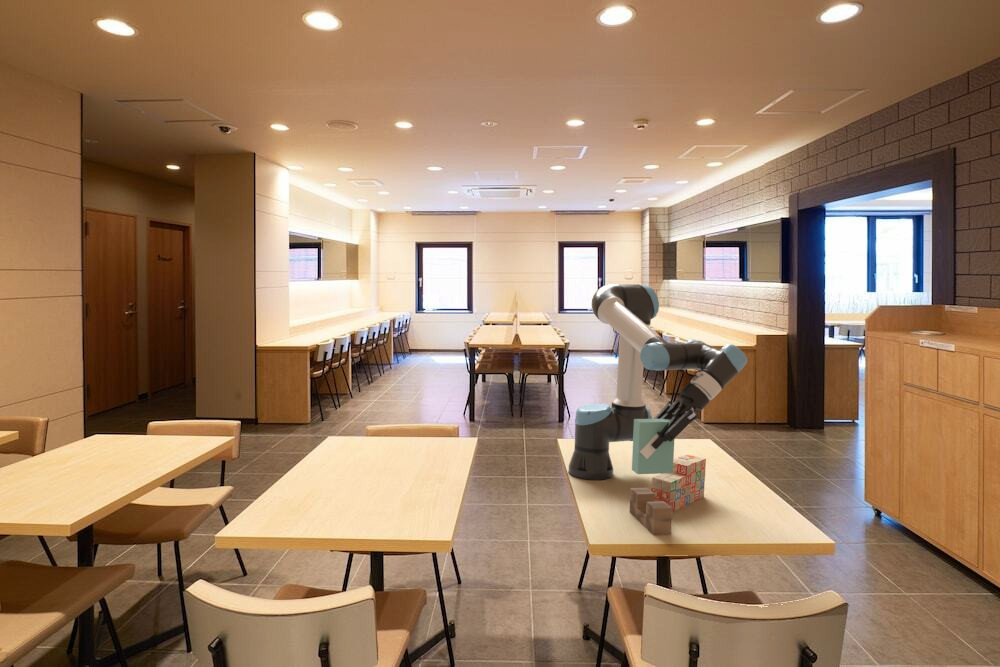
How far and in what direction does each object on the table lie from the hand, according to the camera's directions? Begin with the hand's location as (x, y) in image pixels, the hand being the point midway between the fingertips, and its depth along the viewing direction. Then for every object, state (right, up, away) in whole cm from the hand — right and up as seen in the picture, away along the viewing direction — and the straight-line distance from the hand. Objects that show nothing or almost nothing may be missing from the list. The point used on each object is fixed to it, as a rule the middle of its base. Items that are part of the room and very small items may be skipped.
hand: (639, 452), depth 165 cm
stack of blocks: (+16, -19, +19) cm, 31 cm away
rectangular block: (+4, -5, +1) cm, 6 cm away
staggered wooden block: (+3, -19, +2) cm, 20 cm away
